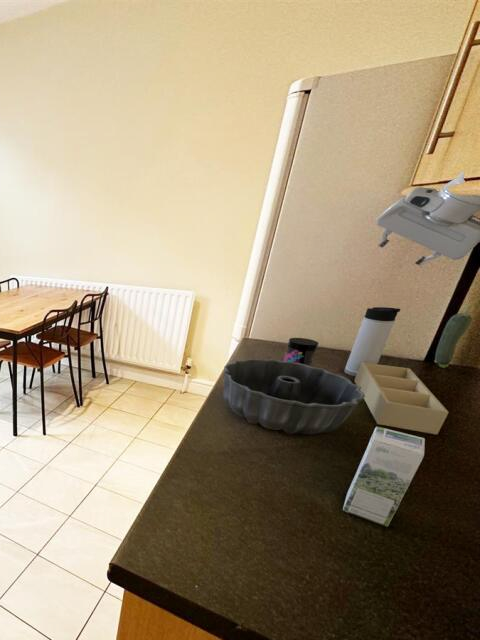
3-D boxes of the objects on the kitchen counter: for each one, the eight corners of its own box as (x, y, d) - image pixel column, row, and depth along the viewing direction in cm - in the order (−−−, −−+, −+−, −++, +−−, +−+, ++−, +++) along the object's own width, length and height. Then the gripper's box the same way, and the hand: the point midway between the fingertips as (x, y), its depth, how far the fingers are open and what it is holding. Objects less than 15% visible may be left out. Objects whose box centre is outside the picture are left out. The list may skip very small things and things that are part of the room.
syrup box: (390, 510, 69) (426, 436, 63) (387, 529, 66) (426, 452, 60) (346, 495, 73) (376, 424, 67) (341, 512, 69) (372, 438, 63)
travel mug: (363, 380, 117) (390, 310, 108) (338, 371, 122) (362, 305, 114) (379, 376, 118) (407, 308, 110) (353, 368, 124) (378, 303, 116)
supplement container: (278, 369, 126) (287, 336, 121) (305, 372, 122) (316, 339, 118) (280, 377, 120) (290, 343, 116) (309, 381, 117) (320, 346, 113)
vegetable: (427, 366, 124) (457, 300, 116) (428, 362, 126) (457, 297, 118) (449, 370, 121) (481, 302, 113) (450, 366, 123) (481, 300, 115)
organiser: (401, 387, 111) (410, 368, 109) (437, 434, 90) (448, 412, 88) (354, 380, 116) (361, 362, 114) (377, 424, 95) (386, 402, 92)
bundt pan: (383, 444, 87) (401, 402, 83) (258, 448, 87) (270, 406, 83) (292, 391, 111) (303, 357, 107) (194, 394, 111) (202, 360, 107)
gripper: (504, 223, 97) (444, 270, 108) (409, 184, 105) (363, 232, 116) (499, 231, 94) (438, 279, 105) (402, 191, 102) (356, 240, 113)
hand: (398, 254), depth 111 cm, fingers open, 8 cm apart
